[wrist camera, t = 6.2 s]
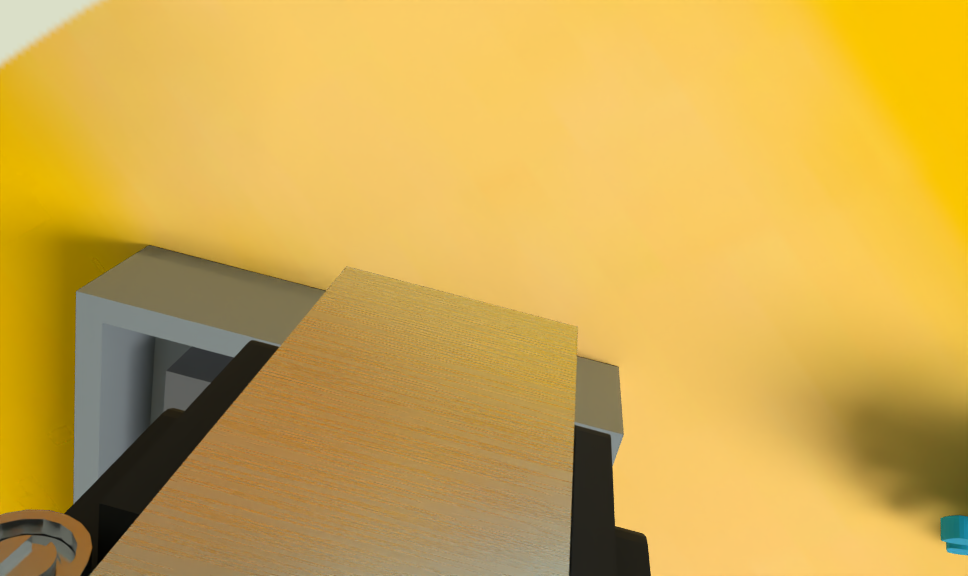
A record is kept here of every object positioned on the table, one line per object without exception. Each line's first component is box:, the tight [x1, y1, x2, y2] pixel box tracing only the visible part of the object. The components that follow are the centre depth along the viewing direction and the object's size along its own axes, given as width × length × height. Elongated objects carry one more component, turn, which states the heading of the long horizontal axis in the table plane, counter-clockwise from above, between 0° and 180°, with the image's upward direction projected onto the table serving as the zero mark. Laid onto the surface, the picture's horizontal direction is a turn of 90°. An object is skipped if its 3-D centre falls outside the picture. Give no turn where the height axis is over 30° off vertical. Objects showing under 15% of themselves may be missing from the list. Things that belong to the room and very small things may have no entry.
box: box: [73, 245, 624, 504], centre depth 34 cm, size 20×20×5 cm
